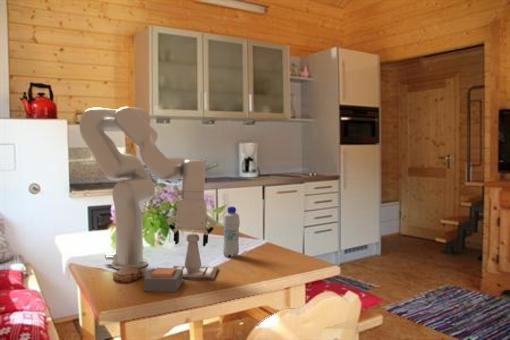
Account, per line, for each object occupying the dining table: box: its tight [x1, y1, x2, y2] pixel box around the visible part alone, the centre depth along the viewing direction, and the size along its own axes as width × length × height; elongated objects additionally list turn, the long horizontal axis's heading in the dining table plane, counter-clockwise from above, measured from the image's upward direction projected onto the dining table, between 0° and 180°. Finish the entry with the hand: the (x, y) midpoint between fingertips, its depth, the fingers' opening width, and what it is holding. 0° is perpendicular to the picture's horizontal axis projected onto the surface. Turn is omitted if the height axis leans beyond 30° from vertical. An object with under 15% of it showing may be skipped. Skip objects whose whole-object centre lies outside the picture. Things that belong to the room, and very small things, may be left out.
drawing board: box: [172, 265, 219, 281], centre depth 151 cm, size 16×12×1 cm
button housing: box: [143, 268, 184, 293], centre depth 138 cm, size 10×10×4 cm
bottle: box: [222, 206, 241, 258], centre depth 174 cm, size 7×7×20 cm
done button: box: [152, 267, 176, 277], centre depth 138 cm, size 6×6×3 cm
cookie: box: [112, 267, 144, 284], centre depth 146 cm, size 10×11×3 cm
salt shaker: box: [184, 233, 202, 273], centre depth 150 cm, size 6×6×13 cm
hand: (190, 244), depth 151 cm, fingers open, 9 cm apart
